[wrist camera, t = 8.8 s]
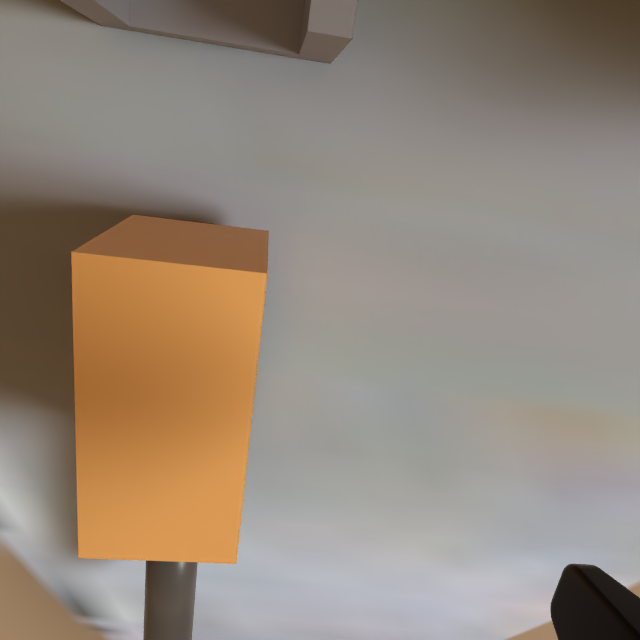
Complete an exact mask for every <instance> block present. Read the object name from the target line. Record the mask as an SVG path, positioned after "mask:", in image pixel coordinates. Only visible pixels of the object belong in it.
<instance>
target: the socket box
mask: <svg viewBox="0 0 640 640" xmlns="http://www.w3.org/2000/svg"><path fill="white" fill-rule="evenodd" d="M60 1H62V2H63V3H65V4H67V5H68V6H70V7H71V8H73V9H75V10H76V11H78V12H80V13H81V14H83V15H84V16H86V17H88V18H89V19H91V20H92V21H94V22H96V23H97V24H99V25H101V26H107V27H113V28H119V29H125V30H131V31H137V32H143V33H149V34H155V35H161V36H167V37H173V38H179V39H185V40H191V41H197V42H203V43H210V44H216V45H222V46H228V47H234V48H240V49H246V50H252V51H258V52H264V53H270V54H276V55H282V56H288V57H294V58H300V59H306V60H312V61H318V62H324V63H331V62H332V61H333V60H334V59H335V58H336V57H337V56H338V54H339V53H340V52H341V51H342V50H343V49H344V48H345V46H346V45H347V44H348V43H349V42H350V41H351V40H352V37H353V30H354V23H355V16H356V8H357V1H358V0H60Z"/></svg>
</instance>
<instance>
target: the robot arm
mask: <svg viewBox="0 0 640 640" xmlns="http://www.w3.org/2000/svg"><path fill="white" fill-rule="evenodd" d="M551 618H552V622H553V625H554V628H555V631H556V634H557V637H558V640H640V598H639V597H638V596H636V595H635V594H634V593H632V592H631V591H630V590H628V589H627V588H626V587H624V586H623V585H622V584H620V583H619V582H617V581H616V580H615V579H613V578H612V577H611V576H609V575H608V574H607V573H605V572H604V571H603V570H601V569H600V568H598V567H596V566H594V565H586V564H569V565H568V566H566V567H565V568H564V570H563V572H562V575H561V578H560V580H559V583H558V586H557V588H556V591H555V593H554V596H553V599H552V602H551Z"/></svg>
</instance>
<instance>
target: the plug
mask: <svg viewBox="0 0 640 640" xmlns="http://www.w3.org/2000/svg"><path fill="white" fill-rule="evenodd" d="M71 261H72V304H73V347H74V389H75V432H76V474H77V517H78V558H92V559H119V560H146V579H145V610H144V640H192V628H193V615H194V601H195V588H196V575H197V562H200V563H228V564H236V561H237V552H238V543H239V533H240V524H241V515H242V505H243V496H244V487H245V477H246V468H247V459H248V449H249V440H250V431H251V421H252V412H253V403H254V393H255V384H256V375H257V365H258V356H259V347H260V337H261V328H262V319H263V309H264V300H265V290H266V281H267V267H268V231H264V230H256V229H248V228H240V227H231V226H223V225H215V224H207V223H198V222H190V221H182V220H174V219H165V218H157V217H149V216H141V215H131V216H130V217H128V218H126V219H125V220H123V221H121V222H120V223H118V224H117V225H115V226H113V227H112V228H110V229H108V230H107V231H105V232H103V233H102V234H100V235H98V236H97V237H95V238H93V239H92V240H90V241H88V242H87V243H85V244H83V245H82V246H80V247H78V248H77V249H75V250H74V251H72V252H71Z"/></svg>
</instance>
